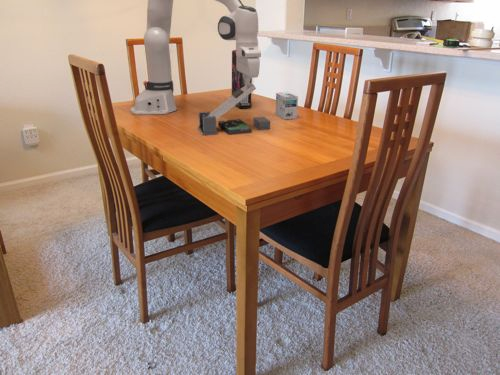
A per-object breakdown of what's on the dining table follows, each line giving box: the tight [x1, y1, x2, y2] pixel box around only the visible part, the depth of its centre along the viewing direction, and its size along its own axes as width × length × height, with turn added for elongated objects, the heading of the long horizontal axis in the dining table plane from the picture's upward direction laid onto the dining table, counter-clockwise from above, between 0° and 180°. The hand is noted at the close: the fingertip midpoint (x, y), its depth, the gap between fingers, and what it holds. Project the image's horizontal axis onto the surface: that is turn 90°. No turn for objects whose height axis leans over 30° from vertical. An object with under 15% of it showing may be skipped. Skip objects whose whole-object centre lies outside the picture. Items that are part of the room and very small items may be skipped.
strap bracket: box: [197, 110, 271, 136], centre depth 177 cm, size 30×11×7 cm, turn 107°
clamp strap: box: [205, 82, 257, 121], centre depth 173 cm, size 25×6×3 cm
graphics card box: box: [231, 49, 253, 109], centre depth 213 cm, size 17×7×27 cm, turn 17°
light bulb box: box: [275, 91, 299, 120], centre depth 196 cm, size 11×7×11 cm, turn 22°
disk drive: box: [217, 118, 252, 136], centre depth 178 cm, size 10×3×15 cm
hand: (246, 85), depth 172 cm, fingers closed
